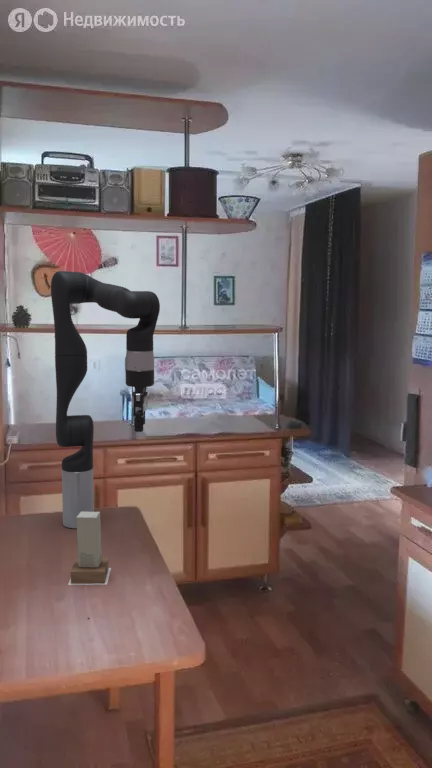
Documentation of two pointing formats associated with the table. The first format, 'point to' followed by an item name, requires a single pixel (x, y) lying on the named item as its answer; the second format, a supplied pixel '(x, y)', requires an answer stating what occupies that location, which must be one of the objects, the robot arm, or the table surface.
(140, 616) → the table surface
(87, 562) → the box
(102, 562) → the base block
